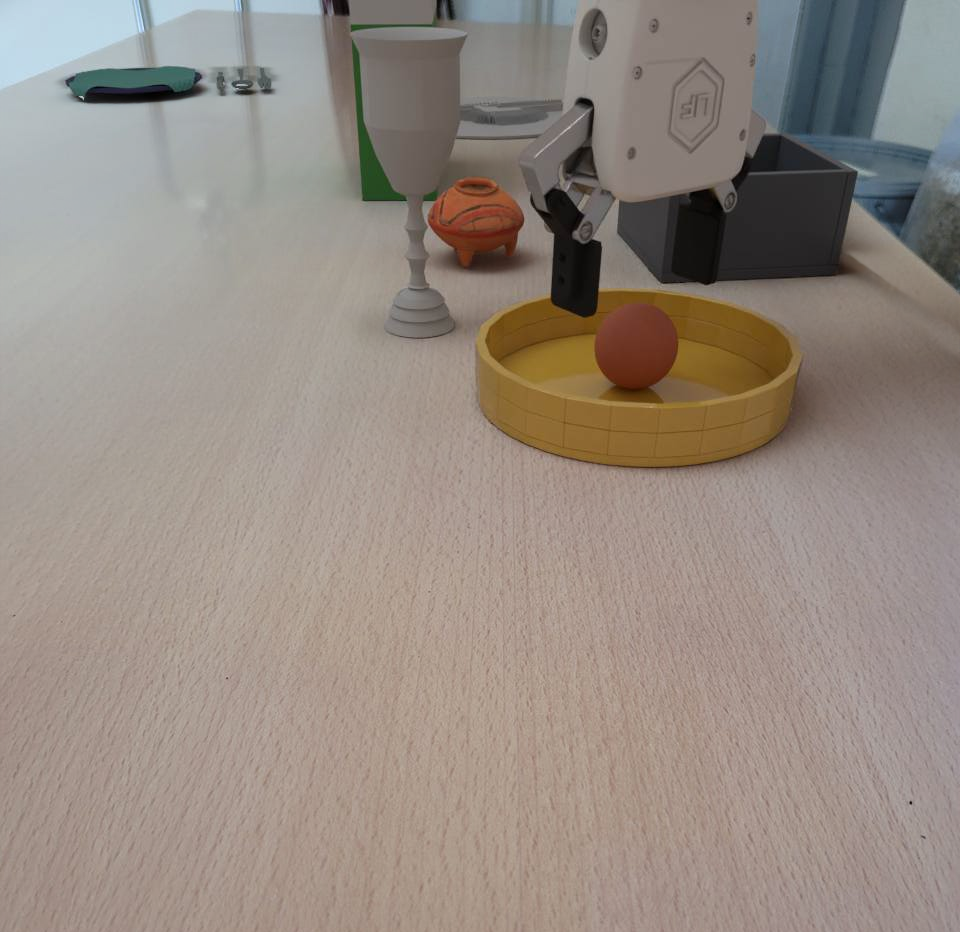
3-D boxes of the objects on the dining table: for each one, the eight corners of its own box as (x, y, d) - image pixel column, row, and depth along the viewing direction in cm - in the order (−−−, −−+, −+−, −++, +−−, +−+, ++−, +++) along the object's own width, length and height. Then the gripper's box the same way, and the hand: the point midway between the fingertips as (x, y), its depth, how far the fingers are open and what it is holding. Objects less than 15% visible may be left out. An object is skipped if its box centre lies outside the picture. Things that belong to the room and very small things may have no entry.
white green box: (375, 160, 114) (359, -102, 99) (440, 160, 114) (434, -102, 99) (362, 200, 100) (341, -99, 85) (436, 199, 100) (428, -100, 85)
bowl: (729, 332, 70) (737, 282, 68) (843, 455, 55) (858, 396, 53) (459, 345, 68) (459, 294, 66) (501, 478, 53) (502, 417, 51)
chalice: (352, 334, 70) (329, 37, 59) (392, 304, 75) (377, 25, 64) (449, 347, 68) (443, 42, 57) (483, 315, 73) (484, 29, 62)
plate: (549, 94, 148) (549, 85, 147) (630, 130, 127) (631, 119, 126) (365, 106, 141) (364, 96, 140) (418, 145, 120) (417, 134, 119)
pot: (509, 236, 88) (517, 159, 83) (527, 285, 83) (536, 207, 78) (419, 238, 87) (422, 160, 82) (432, 287, 82) (435, 208, 77)
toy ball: (660, 368, 64) (669, 289, 61) (683, 400, 60) (694, 317, 57) (583, 372, 63) (588, 293, 60) (601, 405, 59) (608, 321, 56)
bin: (771, 225, 92) (786, 132, 87) (836, 275, 81) (858, 171, 76) (616, 232, 91) (624, 137, 86) (660, 283, 79) (671, 177, 74)
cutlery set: (75, 84, 157) (71, 67, 155) (268, 77, 162) (266, 60, 160) (60, 106, 141) (55, 87, 140) (274, 98, 146) (272, 80, 145)
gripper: (593, -61, 41) (566, 345, 51) (849, -66, 50) (782, 283, 60) (482, -68, 46) (477, 305, 56) (733, -71, 54) (689, 253, 65)
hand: (635, 293), depth 58 cm, fingers open, 9 cm apart
